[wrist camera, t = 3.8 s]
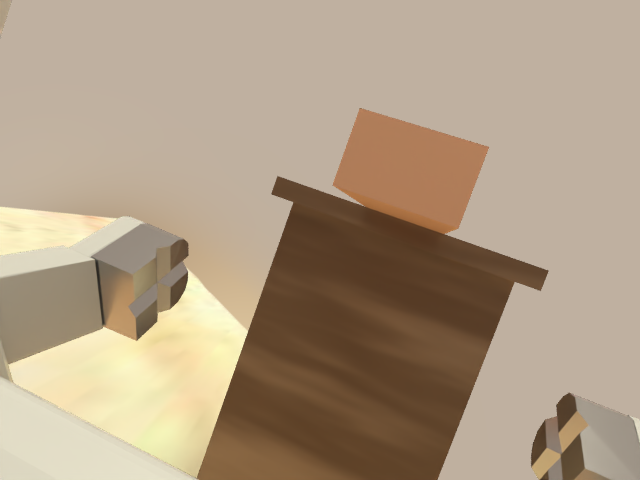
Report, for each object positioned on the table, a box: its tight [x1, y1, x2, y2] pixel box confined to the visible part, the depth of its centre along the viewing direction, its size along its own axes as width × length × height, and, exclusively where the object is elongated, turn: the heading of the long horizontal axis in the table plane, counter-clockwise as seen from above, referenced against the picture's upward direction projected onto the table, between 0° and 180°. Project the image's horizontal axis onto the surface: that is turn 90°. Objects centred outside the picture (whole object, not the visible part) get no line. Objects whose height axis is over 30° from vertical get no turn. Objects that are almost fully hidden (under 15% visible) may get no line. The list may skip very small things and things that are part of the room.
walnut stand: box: [197, 177, 548, 480], centre depth 30 cm, size 14×14×26 cm
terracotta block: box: [333, 108, 489, 234], centre depth 25 cm, size 23×4×2 cm, turn 166°
